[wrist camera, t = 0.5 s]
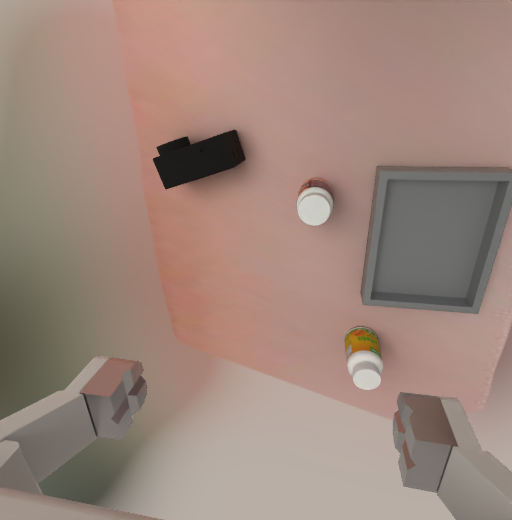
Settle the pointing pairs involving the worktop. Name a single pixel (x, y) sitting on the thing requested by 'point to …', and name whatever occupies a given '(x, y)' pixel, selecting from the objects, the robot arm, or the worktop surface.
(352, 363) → the supplement bottle
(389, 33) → the worktop surface
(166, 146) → the digital camera
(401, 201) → the tray
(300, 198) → the pill bottle
